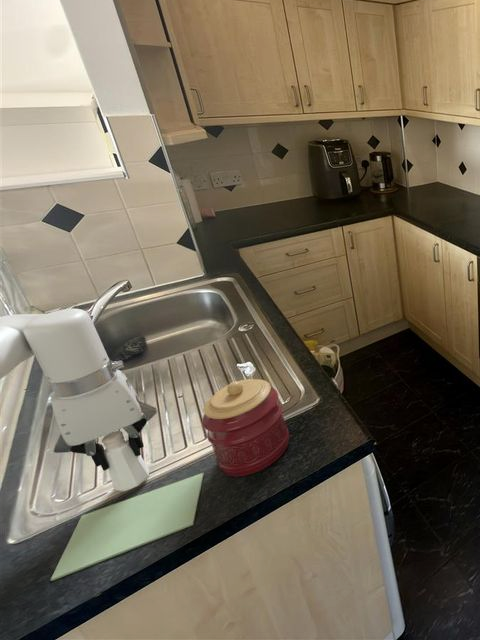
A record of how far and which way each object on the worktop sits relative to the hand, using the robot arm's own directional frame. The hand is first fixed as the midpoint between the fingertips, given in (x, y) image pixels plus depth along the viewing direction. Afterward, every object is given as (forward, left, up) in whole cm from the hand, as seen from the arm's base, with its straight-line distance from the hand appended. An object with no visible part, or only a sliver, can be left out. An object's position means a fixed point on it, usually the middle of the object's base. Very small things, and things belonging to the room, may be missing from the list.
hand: (122, 457), depth 77 cm
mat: (+3, -10, -7) cm, 13 cm away
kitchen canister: (+21, -3, -7) cm, 22 cm away
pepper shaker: (0, 0, -6) cm, 6 cm away
